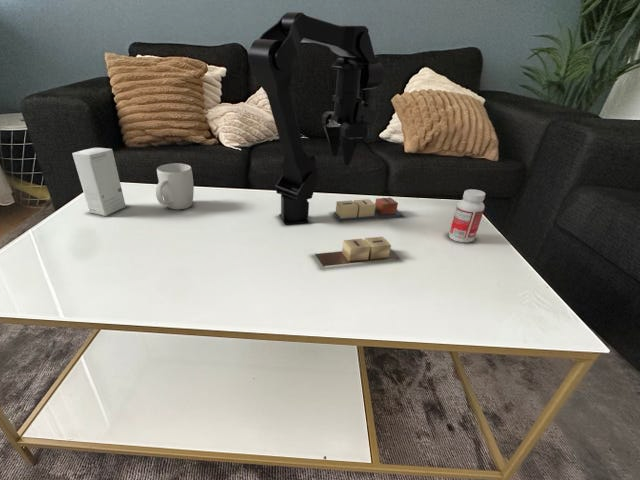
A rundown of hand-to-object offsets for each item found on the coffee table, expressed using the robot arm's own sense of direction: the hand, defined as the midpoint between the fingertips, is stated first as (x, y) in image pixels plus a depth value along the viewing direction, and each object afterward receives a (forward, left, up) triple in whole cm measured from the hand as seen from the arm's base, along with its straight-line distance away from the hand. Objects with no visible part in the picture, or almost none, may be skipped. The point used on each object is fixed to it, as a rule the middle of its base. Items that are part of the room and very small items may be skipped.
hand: (340, 160), depth 109 cm
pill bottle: (+23, -28, -12) cm, 38 cm away
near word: (-7, -33, -12) cm, 36 cm away
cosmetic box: (-63, +9, -12) cm, 65 cm away
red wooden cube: (+11, -9, -11) cm, 18 cm away
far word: (+6, -9, -12) cm, 16 cm away
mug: (-45, +7, -12) cm, 47 cm away
